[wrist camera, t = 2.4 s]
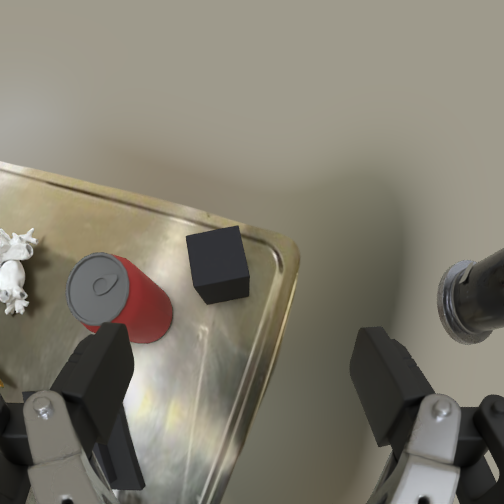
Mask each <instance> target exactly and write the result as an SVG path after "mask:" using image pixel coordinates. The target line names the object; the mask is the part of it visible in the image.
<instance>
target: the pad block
mask: <svg viewBox="0 0 504 504" xmlns="http://www.w3.org/2000/svg"><path fill="white" fill-rule="evenodd" d="M186 242H187V248H188V255H189V261H190V267H191V274H192V280H193V286H194V288H195V289H196V291H197V292H198V293H199V295H200V296H201V297H202V299H203V300H204V302H205V303H206V304H207V305H208V304H213V303H218V302H223V301H228V300H233V299H238V298H243V297H248V296H249V281H250V275H249V270H248V266H247V261H246V257H245V253H244V248H243V244H242V239H241V235H240V230H239V226H233V227H228V228H222V229H218V230H213V231H208V232H203V233H198V234H193V235H188V236H186Z"/></svg>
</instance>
